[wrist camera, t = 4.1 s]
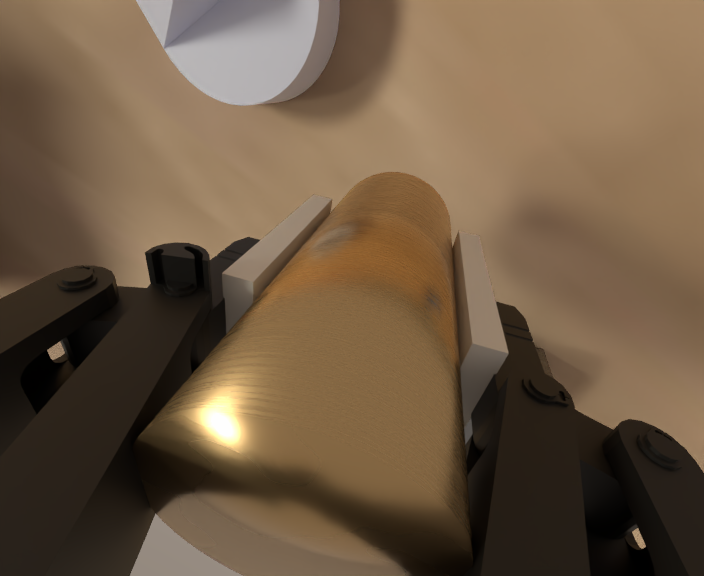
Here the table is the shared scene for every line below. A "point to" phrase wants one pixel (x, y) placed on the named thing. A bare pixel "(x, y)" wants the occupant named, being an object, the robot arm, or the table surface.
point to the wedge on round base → (246, 44)
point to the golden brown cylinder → (330, 408)
